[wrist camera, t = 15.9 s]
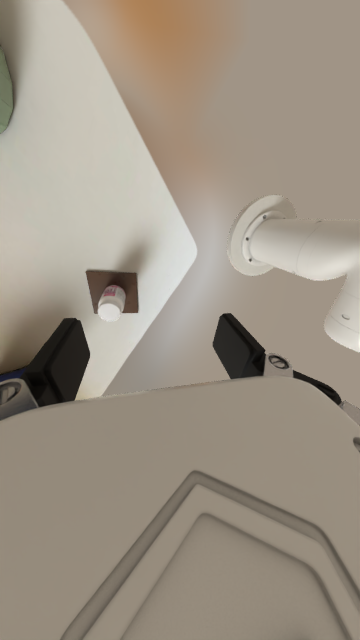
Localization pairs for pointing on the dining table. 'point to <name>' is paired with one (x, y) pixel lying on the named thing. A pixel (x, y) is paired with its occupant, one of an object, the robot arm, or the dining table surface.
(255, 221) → the robot arm
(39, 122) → the dining table surface
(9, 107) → the bowl
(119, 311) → the pill bottle
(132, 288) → the coaster board
